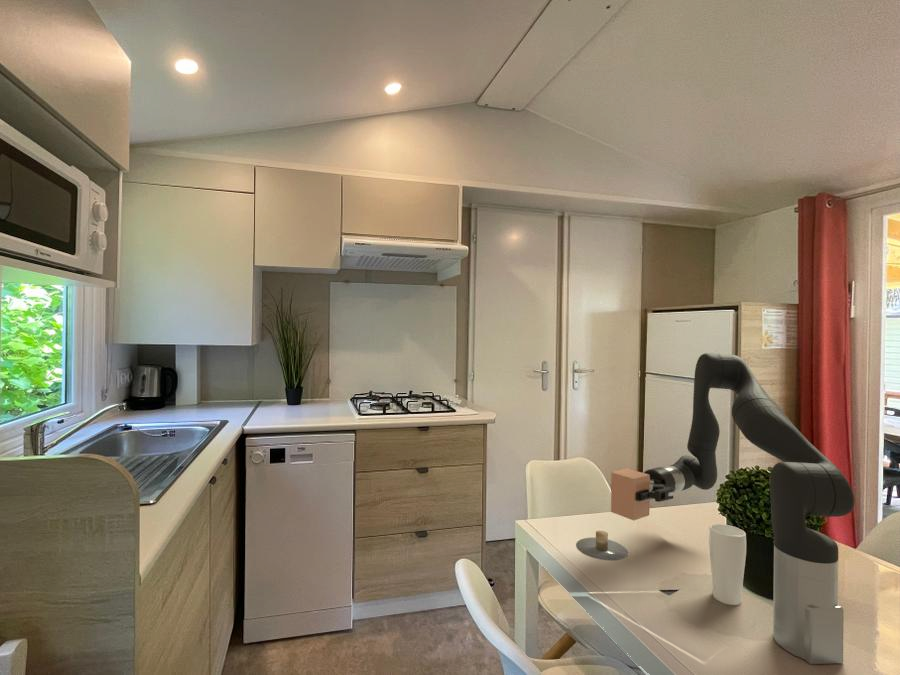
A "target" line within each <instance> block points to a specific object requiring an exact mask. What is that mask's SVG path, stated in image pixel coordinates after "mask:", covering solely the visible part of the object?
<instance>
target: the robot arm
mask: <svg viewBox="0 0 900 675" xmlns="http://www.w3.org/2000/svg"><path fill="white" fill-rule="evenodd" d="M693 382H694V383H693V398H692V399H693V400H692V401H693V402H692V417H691V418H692V420H691V425H690V430H689V435H688V441H687V446H686V447H687V448H686V449H687V450H688V452H689V453H690V454H691V455H692V456H690V455H682V456H681V457H679V458H678V460H676V461H675V462H674V463H673V464H669V465H663V466H658V467H654V468H649V469H647V470H645V471H644V472H643V473H645V474H649V475H650V488H647V490H641V491H638V492H636V501H643V500H646V499H648V500H649V501H652V500H654V501H655V502H656V503H657V502H658V503H660V502H664V501H668V500H672V499H674V495H676V494H678V493H680V492H682V491H685V490H688V489H690V488H692V487H693V486H695V487H697V488H699V489H700V490H702V491H703V490H704V491H705V490H706V491H708V490H710V489H712V488H713V487H714V486H715V484H716V483H717V479H718V466H717V465H718V464H717V457H716V455H717V454H716V450H717V446H718V443H719V438H720V430H721V429H720V424H719V421H718V419H717V416H716V415H715V413H714V411H713V409H712V406H711V404H710V398H709V396H710V390H711V389H719V390H721V389H722V390H730V391H733V392H735V394H736V397H735V399H734V400H733V404H732V407H731V417H732V419H733V421H734V423H735V425H736V426H737V428H738V430H740V432H741V433H742V435H743V436H744V437H745V439H746V440H748V441H749V443H751V444H752V445H754V446H755V447H757V448H759V449H760V450H762V451H764V452H765V453H767V454H769V455H771V456H773V457H774V458H776V459H778V460H779V461H780V462H777V463H775V464H774V465H773V467H772V469H771V471H770V475H769V496H770V509H771V510H770V513H771V514H770V516H771V528H772V532H773V604H772V605H773V607H772V608H773V611H772V613H773V614H772V616H773V618H772V619H773V622H772V623H773V626H772V628H773V629H772V632H773V633H772V635H773V639H774V641H775V642H776V643H777V645H779V646H780V647H781V648H782V649H783V650H785V651H786V652H788V653H790V654H792V655H793V656H796V657H798V658H800V659H802V660H804V661H806V662H807V663H808V664H810V665H820V664H821V665H823V664H824V665H828V664H830V665H831V664H844V621H845V620H844V618H845V617H844V608H843V606H841V605H839V546H838V544H837V542H836V541H835V540H834V539H833V538H831V537H830V536H828V535H826V534H824V533H822V532H820V531H817V530H814V529H812V528H809V527H808V526H807V523H806V516H811V517H812V516H813V517H824V518H826V517H827V518H836V517H837V518H838V517H839V518H840V517H845V516H847V515H848V514H850V513H851V512H852V511H853V510H854V507H855V495H854V491H853V489H852V486H851V484H850V483H849V480H848V479H847V478H846V477H845V475H844V473H843V472H842V471H841V470H840V469H839V468H838V467H837V465H835V464H834V463H833V462H832V461H831V460H830V459H829V458H827V457H826V456H825V455H824V454H823V453H822V452H821V451H820V450H819V449H818V448H816V446H815V445H813V444H812V443H811V442H810V441H809V440H808V439H807V438H806V437H805V436H804V434H803V433H801V431H800V430H799V429H798V428H797V427H796V426H795V425H794V423H792V421H791V420H790V419H789V418H788V416H787V415H786V414H785V412H784V411H783V409H781V407H780V406H779V405H778V404H777V403H776V402H775V401H774V400H773V399H772V398H771V397H770V396H769V394H768V393H767V392H766V390H764V388H763V386H762V385H761V384H760V383H759V381H758V379H757V378H756V377H755V376H754V373H753V372H752V370H751V368H750V367H749V366H748V364H747V363H746V361H745V360H744V359H743V358H742V357H740V356H738V355H735V354H723V353H712V352H710V353H706V352H705V353H702V354H701V355H700V356H699V357H698V359H697V361H696V363H695V369H694V380H693ZM693 456H694V457H693Z"/></svg>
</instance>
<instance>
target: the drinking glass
mask: <svg viewBox="0 0 900 675" xmlns="http://www.w3.org/2000/svg"><path fill="white" fill-rule="evenodd" d="M708 534H709V536H708V537H709V538H708V539H709V541H708V544H709V547H708V548H709V557H710V571H711V584H712V588H711V589H712V592H711V593H712V596H713V598H714V599H715V600H716V601H718V602H721V603H722V604H725V605H729V606H739V605H741V604H742V603H743V602H742V600H743V599H742V598H743V596H742V595H743V584H744V575H745V567H746V557H747V534H746V532H745V531H744V530H743V529H740V528H739V527H736V526H733V525H729V524H726V523H725V524H723V523H713V524H711V525H710V526H709V533H708Z"/></svg>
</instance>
